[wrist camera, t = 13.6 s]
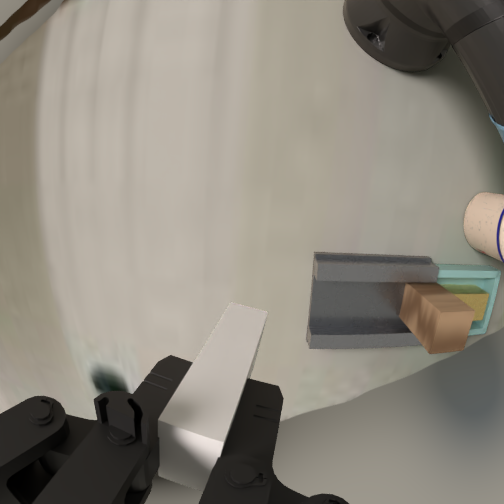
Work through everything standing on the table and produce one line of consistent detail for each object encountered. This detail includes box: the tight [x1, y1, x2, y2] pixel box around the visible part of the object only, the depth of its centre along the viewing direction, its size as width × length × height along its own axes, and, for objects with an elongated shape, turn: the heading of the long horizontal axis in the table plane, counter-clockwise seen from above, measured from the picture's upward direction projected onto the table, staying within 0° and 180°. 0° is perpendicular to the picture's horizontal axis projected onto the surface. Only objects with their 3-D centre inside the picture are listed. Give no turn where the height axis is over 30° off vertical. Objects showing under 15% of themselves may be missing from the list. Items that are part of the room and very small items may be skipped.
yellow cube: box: [457, 285, 489, 321], centre depth 36 cm, size 4×4×4 cm
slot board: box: [306, 252, 439, 349], centre depth 37 cm, size 12×16×4 cm
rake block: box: [399, 282, 475, 354], centre depth 32 cm, size 5×5×10 cm
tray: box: [435, 264, 501, 336], centre depth 37 cm, size 10×12×3 cm
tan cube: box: [440, 284, 470, 304], centre depth 36 cm, size 4×4×4 cm
